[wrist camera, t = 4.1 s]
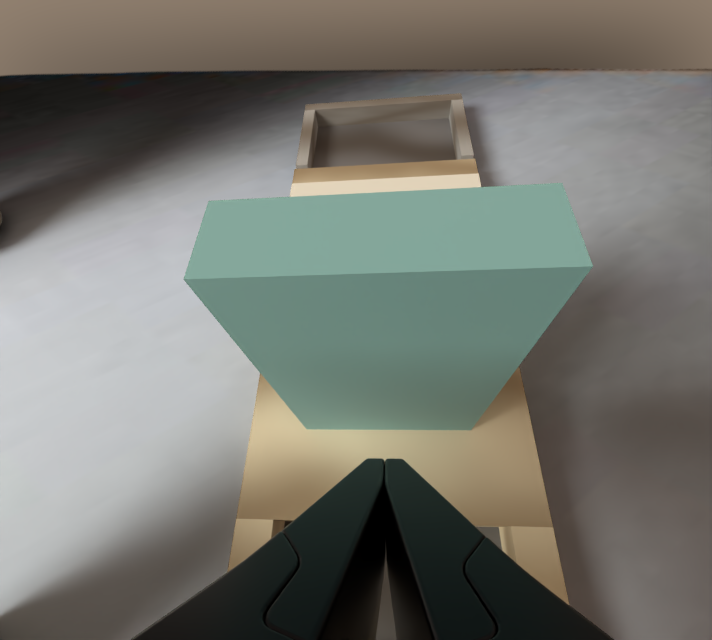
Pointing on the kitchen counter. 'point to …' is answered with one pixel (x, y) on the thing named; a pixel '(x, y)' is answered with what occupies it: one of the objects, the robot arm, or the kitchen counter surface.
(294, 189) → the cream pad
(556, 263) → the teal L-block
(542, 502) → the birch board
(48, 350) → the kitchen counter surface
